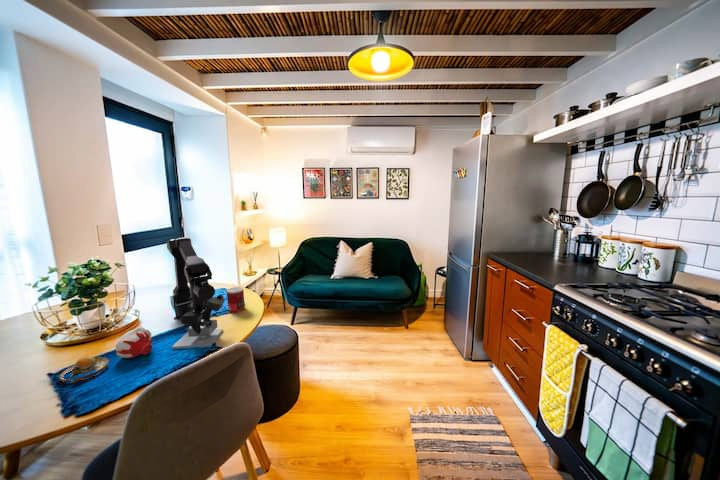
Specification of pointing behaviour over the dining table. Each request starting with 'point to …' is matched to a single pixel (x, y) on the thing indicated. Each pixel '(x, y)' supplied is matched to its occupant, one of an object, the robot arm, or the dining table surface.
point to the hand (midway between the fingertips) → (203, 328)
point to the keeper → (197, 340)
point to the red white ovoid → (134, 343)
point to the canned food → (235, 299)
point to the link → (204, 328)
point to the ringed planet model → (85, 367)
